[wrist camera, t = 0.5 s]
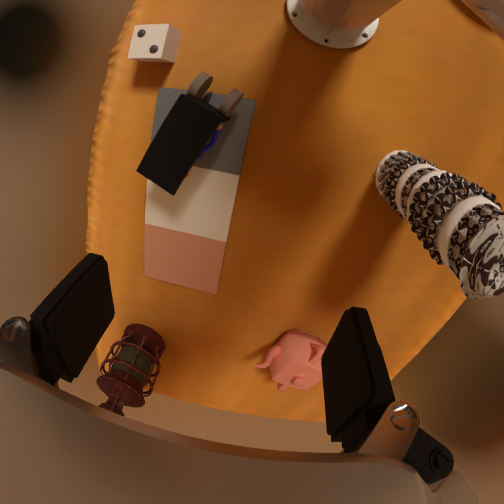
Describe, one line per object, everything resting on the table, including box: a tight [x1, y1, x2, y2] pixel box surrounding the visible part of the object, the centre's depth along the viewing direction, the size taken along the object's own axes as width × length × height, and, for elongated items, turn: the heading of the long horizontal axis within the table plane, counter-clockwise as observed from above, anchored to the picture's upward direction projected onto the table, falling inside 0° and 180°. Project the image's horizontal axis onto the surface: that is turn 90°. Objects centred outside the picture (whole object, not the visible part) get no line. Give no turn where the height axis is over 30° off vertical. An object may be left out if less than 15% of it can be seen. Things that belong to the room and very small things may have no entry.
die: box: [128, 24, 182, 63], centre depth 27 cm, size 5×5×5 cm
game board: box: [144, 88, 256, 295], centre depth 41 cm, size 33×14×1 cm, turn 168°
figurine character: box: [137, 72, 244, 196], centre depth 33 cm, size 7×8×15 cm
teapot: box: [255, 329, 327, 391], centre depth 50 cm, size 14×12×10 cm
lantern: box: [97, 324, 165, 416], centre depth 46 cm, size 12×12×30 cm
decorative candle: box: [375, 150, 504, 300], centre depth 25 cm, size 9×9×25 cm
